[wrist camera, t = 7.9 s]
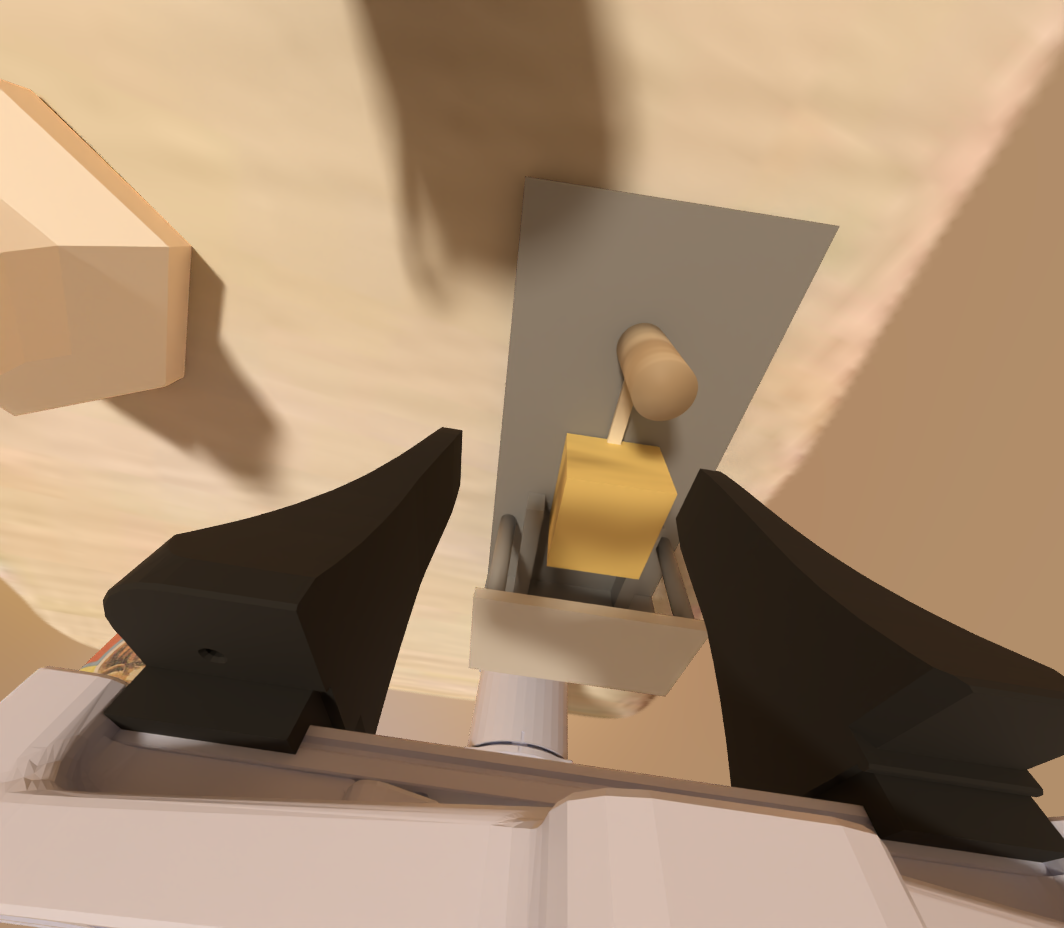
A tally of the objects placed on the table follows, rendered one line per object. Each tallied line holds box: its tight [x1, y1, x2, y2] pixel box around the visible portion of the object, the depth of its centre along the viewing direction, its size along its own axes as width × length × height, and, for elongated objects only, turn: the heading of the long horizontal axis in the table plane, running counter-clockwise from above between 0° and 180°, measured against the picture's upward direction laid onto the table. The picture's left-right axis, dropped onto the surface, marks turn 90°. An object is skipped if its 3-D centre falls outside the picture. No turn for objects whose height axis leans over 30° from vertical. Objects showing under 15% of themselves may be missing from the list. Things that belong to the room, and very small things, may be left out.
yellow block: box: [547, 323, 698, 580], centre depth 18 cm, size 12×5×5 cm, turn 173°
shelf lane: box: [469, 176, 839, 696], centre depth 19 cm, size 24×12×7 cm, turn 173°
